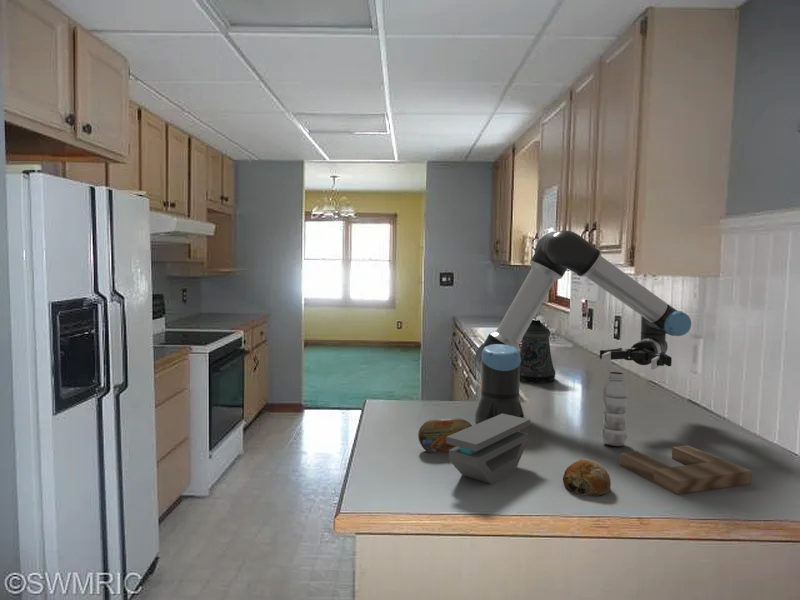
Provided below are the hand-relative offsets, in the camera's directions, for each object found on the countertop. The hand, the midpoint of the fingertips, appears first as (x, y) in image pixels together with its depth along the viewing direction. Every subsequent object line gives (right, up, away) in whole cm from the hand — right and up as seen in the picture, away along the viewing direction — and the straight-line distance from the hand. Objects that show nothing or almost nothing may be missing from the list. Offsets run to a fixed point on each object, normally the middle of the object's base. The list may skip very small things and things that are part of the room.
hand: (627, 361), depth 159 cm
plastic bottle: (-7, -22, -7) cm, 24 cm away
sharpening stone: (-44, -23, -27) cm, 57 cm away
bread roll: (-24, -24, -35) cm, 49 cm away
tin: (-53, -22, -12) cm, 59 cm away
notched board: (+2, -24, -27) cm, 36 cm away
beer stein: (-9, -16, +76) cm, 79 cm away
